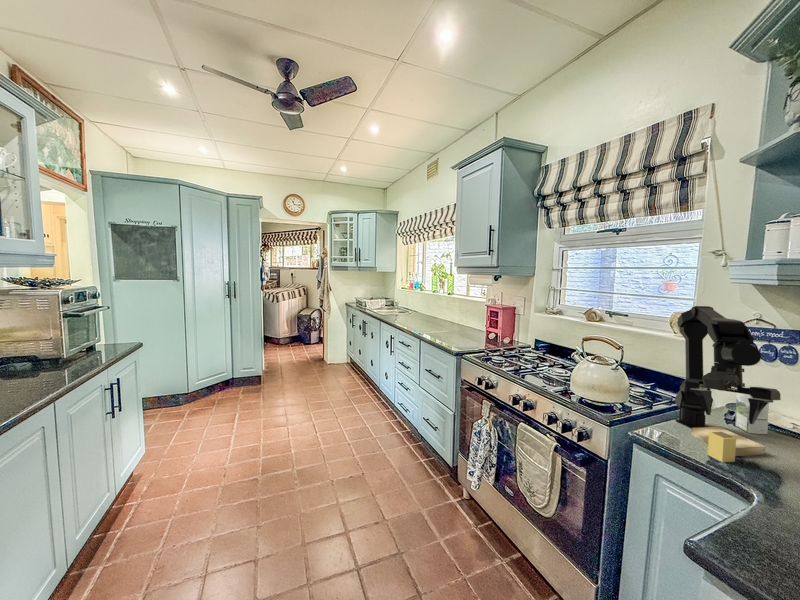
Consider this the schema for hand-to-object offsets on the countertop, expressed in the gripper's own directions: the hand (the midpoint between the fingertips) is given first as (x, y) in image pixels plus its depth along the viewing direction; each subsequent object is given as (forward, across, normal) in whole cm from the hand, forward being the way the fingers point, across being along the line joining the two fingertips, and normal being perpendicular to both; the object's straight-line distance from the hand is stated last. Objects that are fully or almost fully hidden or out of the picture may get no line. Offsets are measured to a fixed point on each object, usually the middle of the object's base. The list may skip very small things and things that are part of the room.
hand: (729, 419), depth 91 cm
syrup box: (+7, -9, +35) cm, 37 cm away
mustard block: (+12, -3, +3) cm, 13 cm away
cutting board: (+10, -7, +14) cm, 19 cm away
